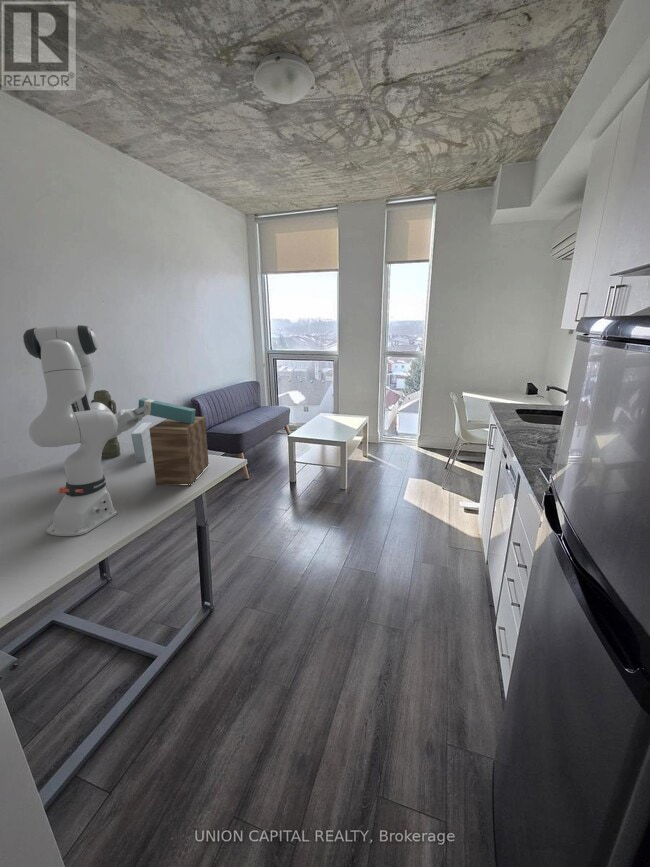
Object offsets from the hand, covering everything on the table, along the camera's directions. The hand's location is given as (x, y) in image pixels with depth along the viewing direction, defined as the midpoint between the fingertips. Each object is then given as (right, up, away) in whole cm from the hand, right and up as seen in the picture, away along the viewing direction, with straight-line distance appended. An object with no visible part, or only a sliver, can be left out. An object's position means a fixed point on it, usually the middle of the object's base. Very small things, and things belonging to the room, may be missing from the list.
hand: (149, 405), depth 162 cm
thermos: (-36, -25, +32) cm, 54 cm away
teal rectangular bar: (+7, -5, +1) cm, 9 cm away
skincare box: (-18, -25, +33) cm, 45 cm away
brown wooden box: (+12, -32, +9) cm, 36 cm away
